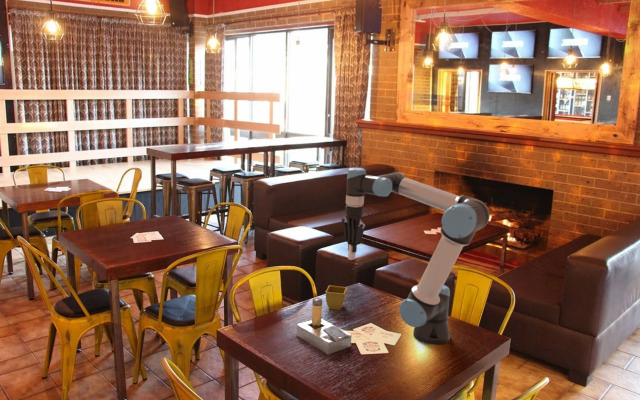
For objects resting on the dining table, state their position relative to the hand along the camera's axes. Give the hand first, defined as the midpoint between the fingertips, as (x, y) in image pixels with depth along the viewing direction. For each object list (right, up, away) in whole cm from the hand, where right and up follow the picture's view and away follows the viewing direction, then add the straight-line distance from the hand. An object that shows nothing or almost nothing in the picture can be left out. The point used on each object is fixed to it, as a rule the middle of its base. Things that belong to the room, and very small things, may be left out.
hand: (351, 258), depth 242 cm
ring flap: (-7, -28, -18) cm, 34 cm away
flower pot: (-6, -25, +23) cm, 34 cm away
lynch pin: (-15, -31, -8) cm, 36 cm away
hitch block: (-12, -32, -12) cm, 36 cm away
